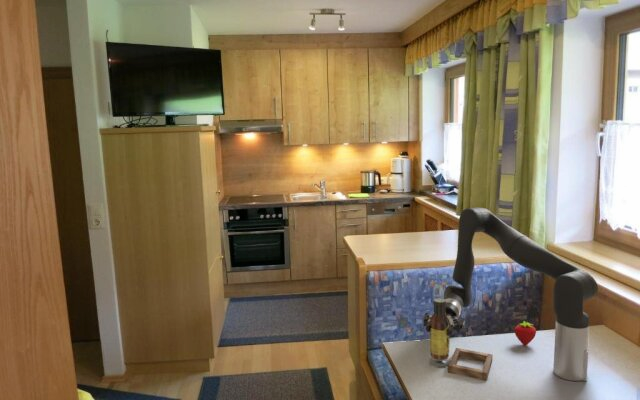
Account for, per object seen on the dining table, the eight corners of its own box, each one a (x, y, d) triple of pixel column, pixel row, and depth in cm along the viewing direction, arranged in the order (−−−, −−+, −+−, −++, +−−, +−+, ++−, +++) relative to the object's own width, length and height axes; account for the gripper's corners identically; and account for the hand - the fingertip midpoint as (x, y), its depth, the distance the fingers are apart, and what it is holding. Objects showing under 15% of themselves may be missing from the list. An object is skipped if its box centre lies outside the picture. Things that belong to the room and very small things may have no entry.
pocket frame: (492, 361, 157) (492, 354, 157) (486, 380, 146) (487, 373, 146) (455, 354, 163) (456, 347, 162) (448, 372, 151) (448, 365, 151)
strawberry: (510, 342, 170) (511, 316, 169) (530, 340, 171) (531, 314, 169) (518, 349, 165) (519, 323, 163) (539, 348, 165) (540, 321, 164)
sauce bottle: (451, 360, 155) (452, 304, 151) (432, 361, 155) (432, 304, 151) (446, 351, 161) (447, 296, 157) (428, 351, 161) (428, 296, 158)
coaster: (452, 359, 160) (452, 357, 159) (447, 369, 153) (447, 367, 153) (431, 355, 163) (431, 353, 163) (426, 365, 157) (426, 363, 156)
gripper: (429, 299, 171) (416, 317, 157) (469, 304, 165) (460, 324, 150) (428, 318, 172) (416, 337, 158) (469, 324, 166) (460, 345, 151)
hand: (438, 331), depth 154 cm, fingers closed on sauce bottle, 6 cm apart
